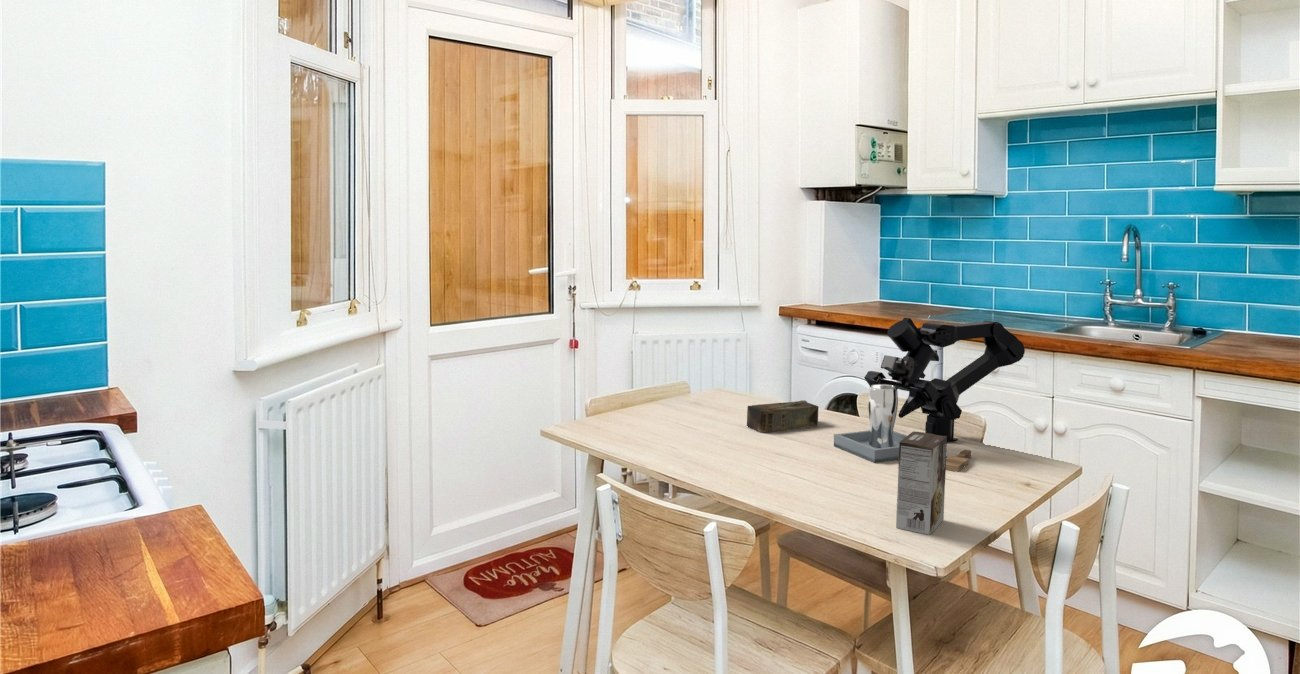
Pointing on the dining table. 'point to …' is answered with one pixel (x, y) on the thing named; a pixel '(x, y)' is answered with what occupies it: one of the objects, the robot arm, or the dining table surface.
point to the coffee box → (921, 482)
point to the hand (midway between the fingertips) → (884, 413)
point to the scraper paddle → (958, 461)
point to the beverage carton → (782, 416)
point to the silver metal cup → (882, 414)
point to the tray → (860, 447)
